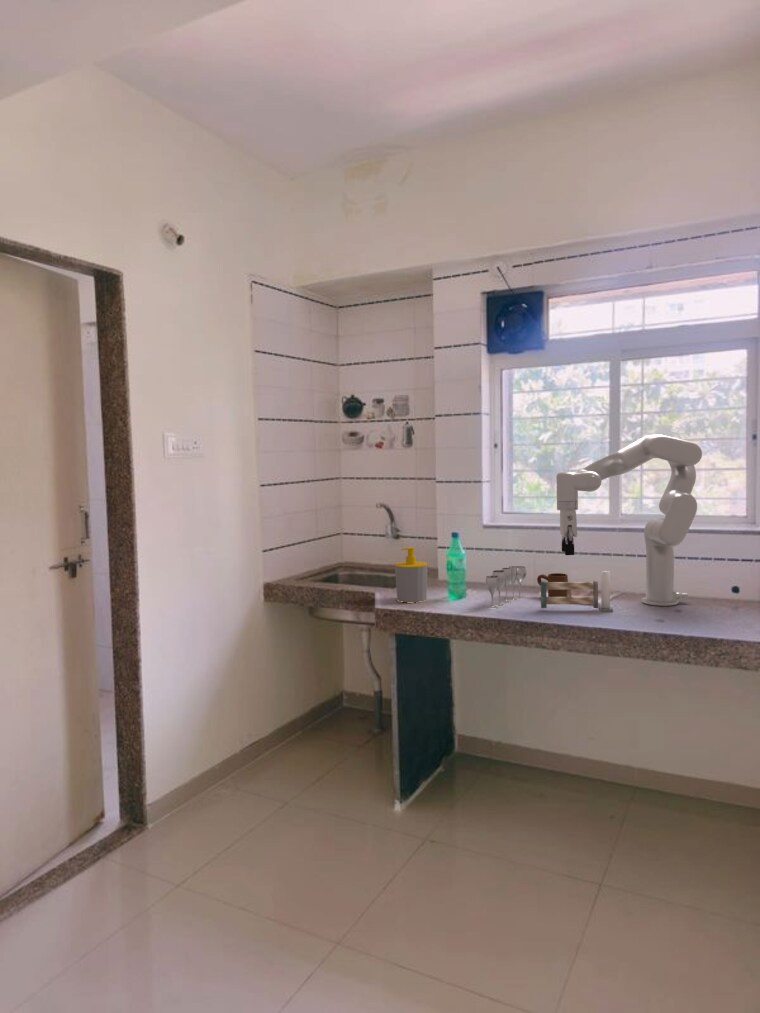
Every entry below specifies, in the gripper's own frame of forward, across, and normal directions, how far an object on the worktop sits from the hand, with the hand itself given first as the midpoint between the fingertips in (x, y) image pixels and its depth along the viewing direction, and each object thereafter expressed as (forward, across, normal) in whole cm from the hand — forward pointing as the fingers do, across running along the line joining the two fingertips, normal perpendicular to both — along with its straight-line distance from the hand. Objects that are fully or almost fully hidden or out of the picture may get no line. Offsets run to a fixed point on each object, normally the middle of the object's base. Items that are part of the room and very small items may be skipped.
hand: (567, 553), depth 253 cm
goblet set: (+20, +7, +22) cm, 31 cm away
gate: (+19, -7, +1) cm, 20 cm away
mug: (+20, +14, +4) cm, 25 cm away
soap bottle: (+20, +11, +59) cm, 63 cm away
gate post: (+20, -7, -12) cm, 24 cm away
